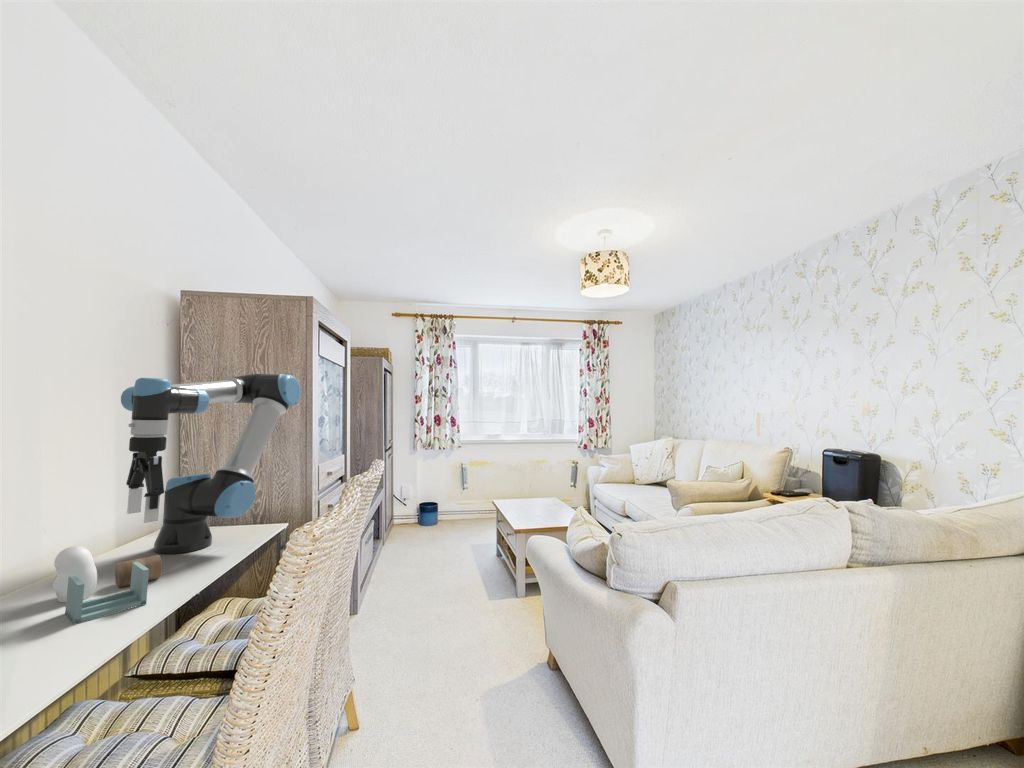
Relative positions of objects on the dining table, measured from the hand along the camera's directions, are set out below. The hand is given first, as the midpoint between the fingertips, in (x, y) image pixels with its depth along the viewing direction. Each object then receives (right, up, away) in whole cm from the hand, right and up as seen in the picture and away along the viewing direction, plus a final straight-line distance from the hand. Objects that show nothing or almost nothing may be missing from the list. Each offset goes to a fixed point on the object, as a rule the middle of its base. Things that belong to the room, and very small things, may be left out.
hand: (142, 517), depth 114 cm
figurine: (-7, -16, -11) cm, 21 cm away
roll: (0, -14, -1) cm, 14 cm away
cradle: (+5, -16, -16) cm, 23 cm away
